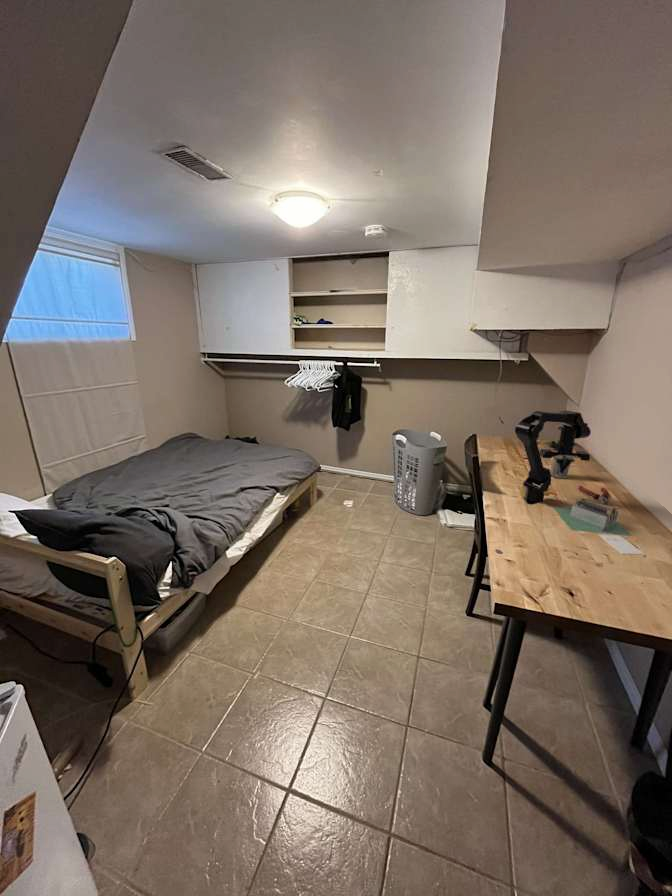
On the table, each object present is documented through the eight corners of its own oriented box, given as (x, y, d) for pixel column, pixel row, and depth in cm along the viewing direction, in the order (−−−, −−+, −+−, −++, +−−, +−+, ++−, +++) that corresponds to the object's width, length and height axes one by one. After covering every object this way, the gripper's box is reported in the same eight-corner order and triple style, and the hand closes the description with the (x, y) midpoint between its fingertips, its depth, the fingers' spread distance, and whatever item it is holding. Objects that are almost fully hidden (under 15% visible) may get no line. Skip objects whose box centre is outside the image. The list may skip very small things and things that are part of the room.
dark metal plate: (578, 503, 146) (578, 501, 146) (582, 501, 147) (582, 499, 147) (609, 513, 137) (610, 512, 137) (613, 512, 138) (613, 510, 138)
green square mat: (570, 532, 137) (571, 529, 137) (552, 509, 156) (553, 507, 155) (631, 538, 133) (632, 536, 132) (605, 514, 152) (606, 512, 151)
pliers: (592, 505, 161) (593, 500, 160) (576, 489, 179) (577, 484, 179) (622, 509, 158) (623, 503, 157) (603, 492, 176) (604, 486, 176)
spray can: (567, 475, 196) (574, 439, 191) (567, 480, 190) (574, 443, 184) (549, 472, 201) (556, 437, 195) (549, 477, 194) (555, 440, 189)
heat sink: (568, 518, 146) (571, 501, 144) (583, 511, 152) (586, 494, 150) (602, 531, 136) (606, 512, 134) (616, 523, 142) (621, 505, 140)
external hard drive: (620, 557, 122) (596, 538, 134) (645, 558, 121) (619, 539, 133) (621, 553, 121) (597, 534, 133) (646, 554, 121) (620, 535, 133)
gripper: (583, 436, 166) (576, 468, 171) (538, 434, 170) (533, 465, 175) (593, 442, 156) (586, 476, 160) (546, 439, 160) (540, 473, 164)
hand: (560, 472), depth 165 cm, fingers closed
